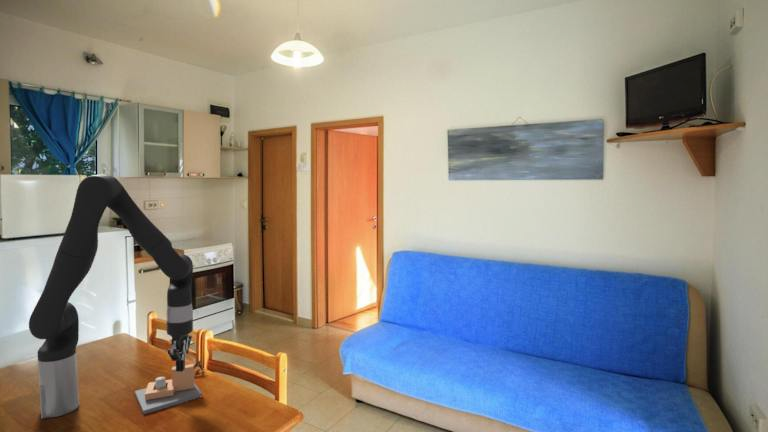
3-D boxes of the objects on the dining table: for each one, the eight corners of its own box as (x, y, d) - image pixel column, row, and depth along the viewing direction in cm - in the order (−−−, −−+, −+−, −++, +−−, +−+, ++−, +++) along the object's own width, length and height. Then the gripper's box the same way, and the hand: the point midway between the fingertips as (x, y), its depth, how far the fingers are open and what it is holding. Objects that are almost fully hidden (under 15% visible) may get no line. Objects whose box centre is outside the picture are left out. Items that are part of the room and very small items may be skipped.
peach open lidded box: (145, 400, 133) (144, 377, 133) (148, 388, 141) (147, 366, 140) (193, 392, 139) (193, 370, 138) (194, 381, 146) (194, 360, 145)
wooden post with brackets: (206, 368, 157) (201, 359, 156) (188, 384, 152) (183, 375, 150) (203, 367, 158) (198, 358, 157) (185, 383, 153) (180, 374, 151)
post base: (143, 414, 128) (142, 395, 127) (134, 394, 140) (134, 377, 139) (202, 396, 139) (201, 379, 138) (189, 379, 150) (189, 363, 150)
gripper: (183, 325, 127) (183, 380, 129) (199, 311, 141) (200, 361, 142) (157, 325, 127) (158, 380, 129) (176, 311, 140) (177, 361, 142)
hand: (180, 370), depth 135 cm, fingers closed
